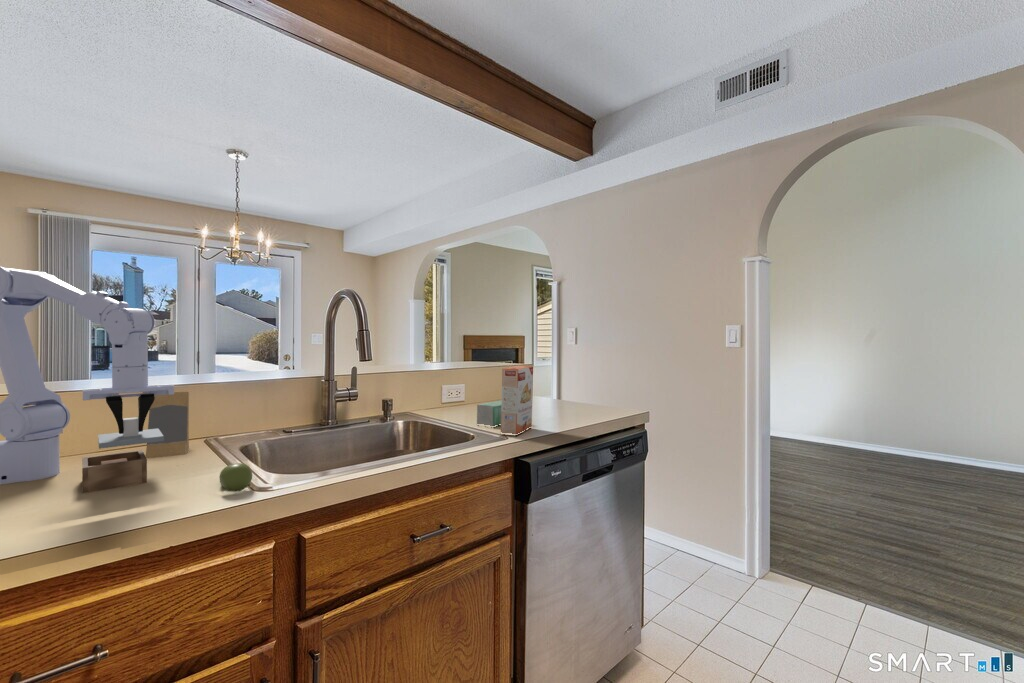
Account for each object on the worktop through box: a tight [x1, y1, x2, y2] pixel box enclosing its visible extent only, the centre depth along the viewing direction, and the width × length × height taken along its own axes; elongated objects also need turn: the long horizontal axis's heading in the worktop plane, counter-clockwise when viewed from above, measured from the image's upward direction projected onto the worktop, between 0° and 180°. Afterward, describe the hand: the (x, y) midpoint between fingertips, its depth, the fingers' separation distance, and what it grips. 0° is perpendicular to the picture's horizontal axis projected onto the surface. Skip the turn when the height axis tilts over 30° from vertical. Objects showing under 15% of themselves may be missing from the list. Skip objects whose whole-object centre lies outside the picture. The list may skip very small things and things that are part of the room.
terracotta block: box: [101, 458, 127, 465], centre depth 95 cm, size 4×4×4 cm
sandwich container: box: [145, 391, 190, 459], centre depth 119 cm, size 9×15×15 cm, turn 33°
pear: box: [219, 462, 253, 492], centre depth 95 cm, size 6×5×10 cm
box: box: [476, 400, 502, 426], centre depth 162 cm, size 7×14×8 cm, turn 144°
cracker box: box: [500, 365, 534, 434], centre depth 150 cm, size 14×6×21 cm, turn 158°
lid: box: [97, 416, 164, 450], centre depth 97 cm, size 10×10×4 cm
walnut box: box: [81, 449, 148, 494], centre depth 95 cm, size 10×10×6 cm
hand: (130, 431), depth 97 cm, fingers closed on lid, 2 cm apart
